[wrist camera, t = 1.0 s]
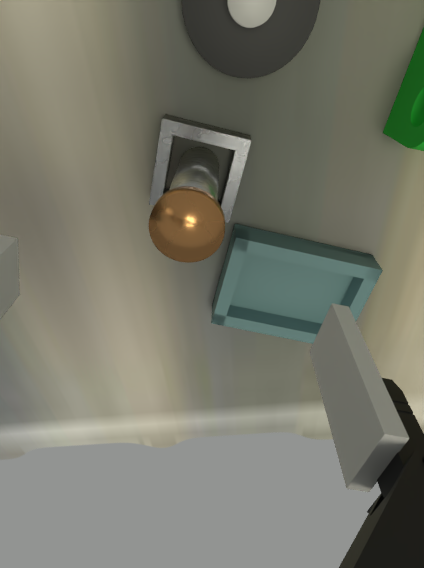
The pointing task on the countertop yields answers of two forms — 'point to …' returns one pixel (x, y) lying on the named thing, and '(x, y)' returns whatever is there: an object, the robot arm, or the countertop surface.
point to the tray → (288, 283)
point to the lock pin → (190, 210)
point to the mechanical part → (410, 104)
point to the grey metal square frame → (206, 135)
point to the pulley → (249, 32)
